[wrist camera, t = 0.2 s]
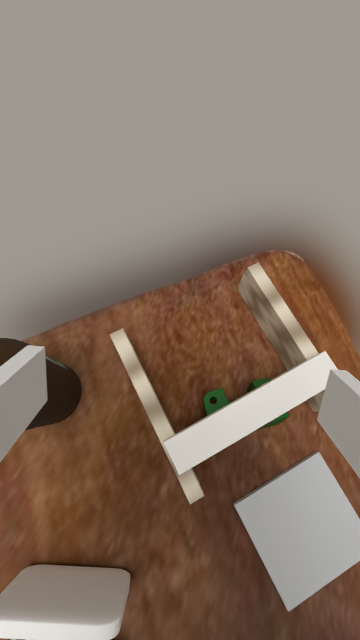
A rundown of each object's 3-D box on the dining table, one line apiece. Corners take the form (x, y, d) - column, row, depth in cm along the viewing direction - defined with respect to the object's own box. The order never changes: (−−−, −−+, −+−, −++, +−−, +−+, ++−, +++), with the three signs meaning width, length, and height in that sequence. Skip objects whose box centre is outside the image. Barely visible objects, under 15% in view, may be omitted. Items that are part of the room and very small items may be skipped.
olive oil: (76, 433, 45) (-29, 460, 21) (9, 423, 45) (-172, 439, 22) (92, 364, 48) (15, 321, 24) (28, 355, 49) (-110, 303, 25)
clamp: (249, 396, 52) (282, 375, 45) (262, 431, 49) (298, 414, 42) (189, 403, 47) (215, 381, 40) (199, 443, 44) (228, 426, 37)
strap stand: (323, 405, 48) (352, 405, 40) (186, 487, 44) (190, 504, 36) (245, 283, 53) (258, 262, 46) (119, 345, 49) (109, 334, 42)
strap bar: (333, 379, 41) (343, 378, 38) (178, 470, 37) (179, 475, 34) (316, 354, 41) (325, 351, 39) (164, 440, 38) (163, 442, 35)
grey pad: (372, 544, 42) (377, 548, 41) (285, 607, 40) (288, 611, 39) (315, 451, 46) (319, 452, 45) (232, 503, 43) (234, 505, 42)
